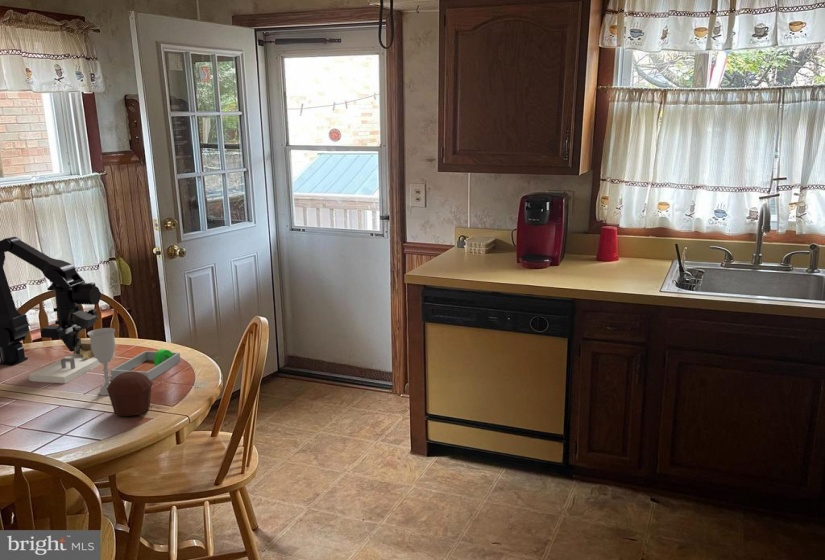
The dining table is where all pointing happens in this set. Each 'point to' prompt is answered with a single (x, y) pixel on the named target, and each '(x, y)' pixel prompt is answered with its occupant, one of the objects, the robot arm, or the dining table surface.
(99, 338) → the chalice
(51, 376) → the door board
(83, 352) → the bolt
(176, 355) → the frame
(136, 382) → the muffin
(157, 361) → the mechanical part
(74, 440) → the dining table surface
